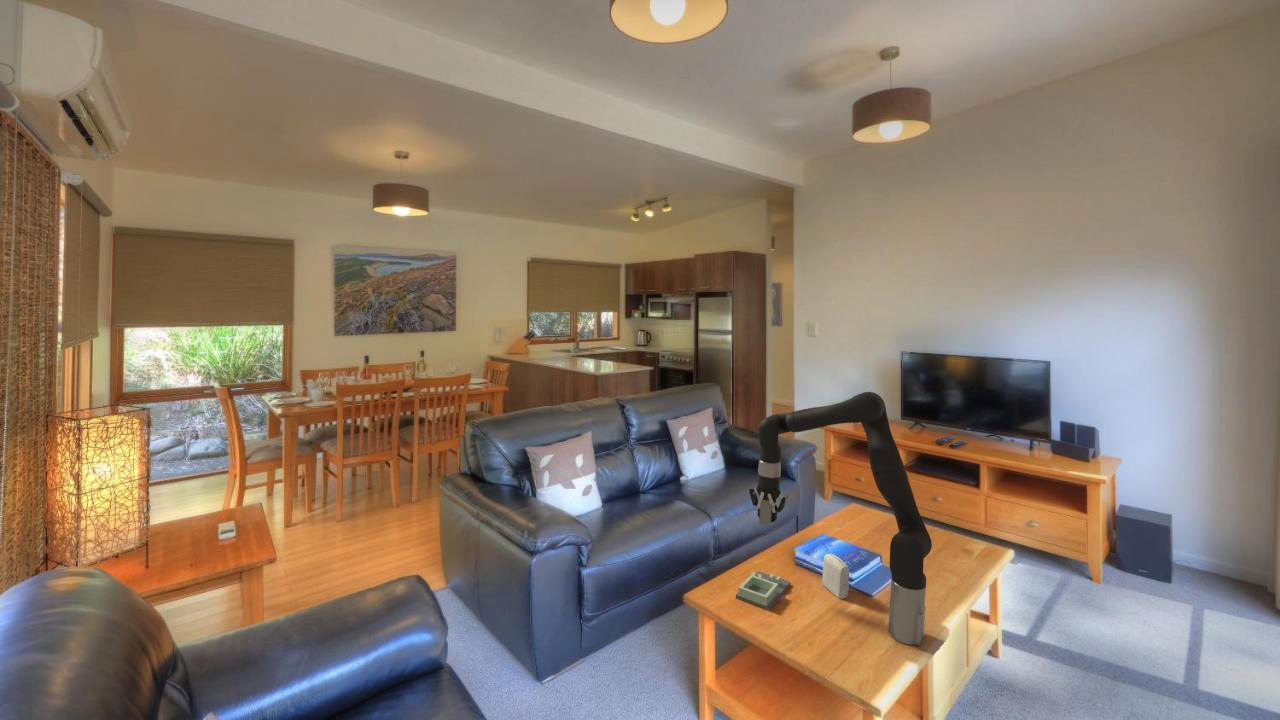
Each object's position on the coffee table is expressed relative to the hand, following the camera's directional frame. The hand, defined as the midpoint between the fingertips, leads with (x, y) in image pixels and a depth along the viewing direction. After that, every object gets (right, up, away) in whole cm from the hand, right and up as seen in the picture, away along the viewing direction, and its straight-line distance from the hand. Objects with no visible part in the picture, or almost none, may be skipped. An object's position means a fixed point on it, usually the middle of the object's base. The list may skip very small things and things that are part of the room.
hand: (766, 519), depth 180 cm
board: (-1, -25, -1) cm, 25 cm away
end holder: (-4, -24, -5) cm, 25 cm away
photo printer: (+24, -25, -1) cm, 34 cm away
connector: (0, -1, 0) cm, 1 cm away
